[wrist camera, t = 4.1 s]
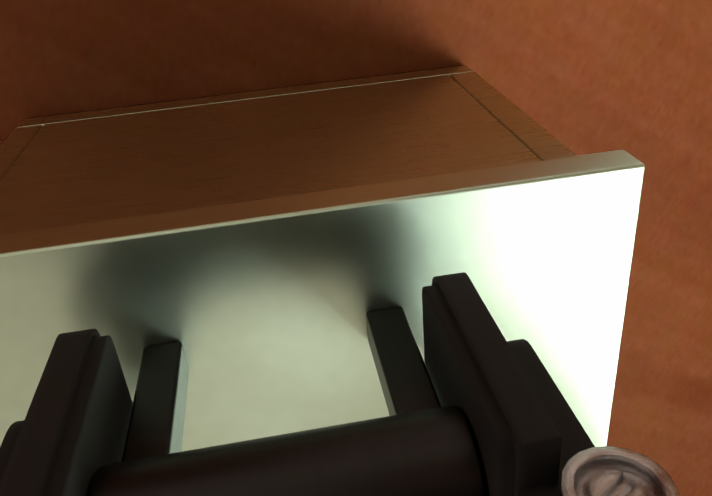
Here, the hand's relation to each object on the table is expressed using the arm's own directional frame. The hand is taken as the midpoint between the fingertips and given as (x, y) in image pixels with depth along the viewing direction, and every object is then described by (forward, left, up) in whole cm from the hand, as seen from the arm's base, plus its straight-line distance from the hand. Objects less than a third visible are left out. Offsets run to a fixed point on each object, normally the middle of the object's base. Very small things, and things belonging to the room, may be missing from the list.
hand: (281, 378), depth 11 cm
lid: (0, -6, -2) cm, 6 cm away
